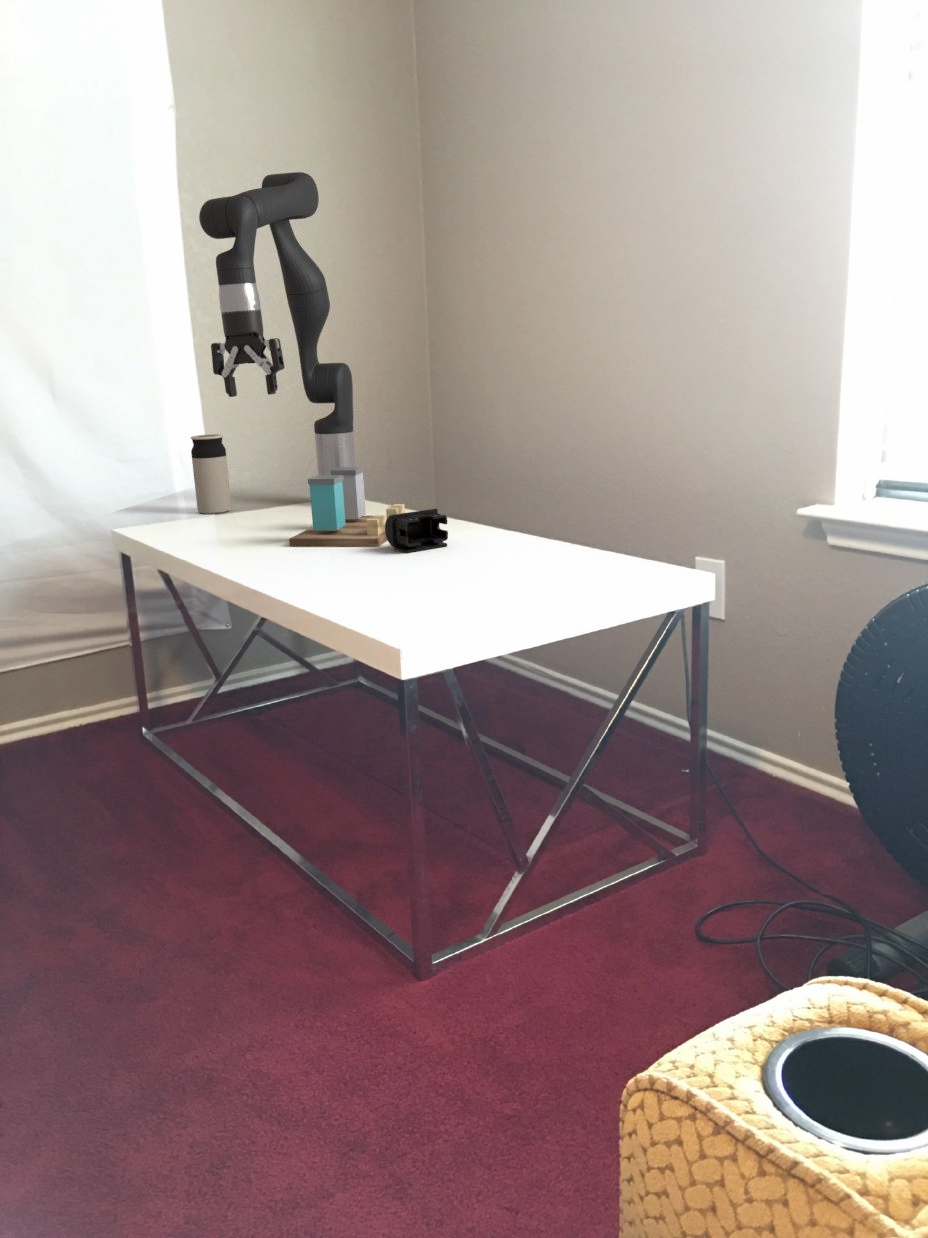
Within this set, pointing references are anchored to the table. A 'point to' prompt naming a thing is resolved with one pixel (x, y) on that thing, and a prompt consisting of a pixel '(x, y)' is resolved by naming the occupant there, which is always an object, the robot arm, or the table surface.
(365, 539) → the key base
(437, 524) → the end cap
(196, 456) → the travel mug
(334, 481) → the teal key
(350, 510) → the grey key
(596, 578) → the table surface
